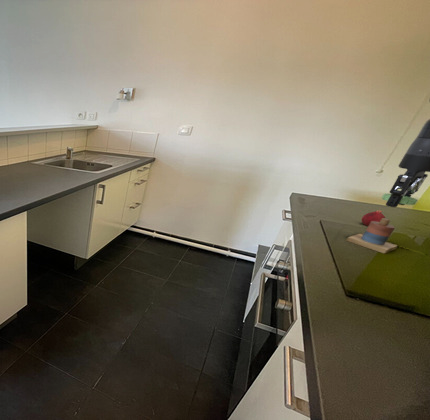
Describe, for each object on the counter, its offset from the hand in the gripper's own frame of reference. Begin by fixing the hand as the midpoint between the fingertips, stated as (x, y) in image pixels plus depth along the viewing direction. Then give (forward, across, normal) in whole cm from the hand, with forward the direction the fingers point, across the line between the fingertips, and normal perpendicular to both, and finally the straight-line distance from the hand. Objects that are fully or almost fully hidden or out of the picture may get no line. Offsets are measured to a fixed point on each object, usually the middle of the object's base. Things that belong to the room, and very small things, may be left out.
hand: (395, 205), depth 80 cm
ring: (-1, 0, 0) cm, 1 cm away
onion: (+15, +22, +7) cm, 28 cm away
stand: (+15, 0, 0) cm, 15 cm away
